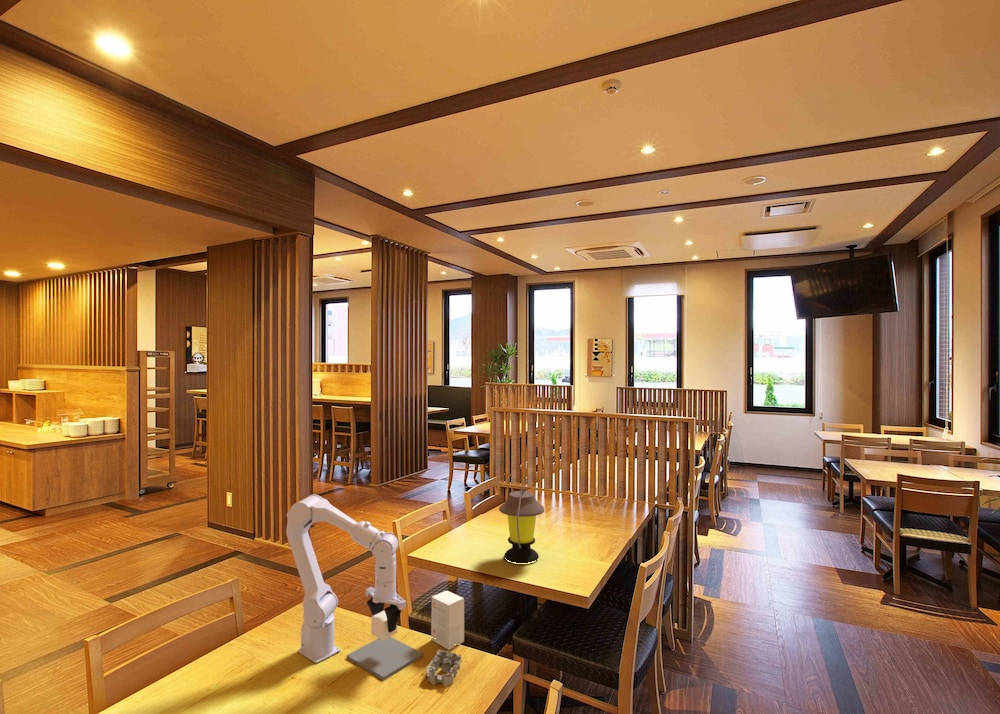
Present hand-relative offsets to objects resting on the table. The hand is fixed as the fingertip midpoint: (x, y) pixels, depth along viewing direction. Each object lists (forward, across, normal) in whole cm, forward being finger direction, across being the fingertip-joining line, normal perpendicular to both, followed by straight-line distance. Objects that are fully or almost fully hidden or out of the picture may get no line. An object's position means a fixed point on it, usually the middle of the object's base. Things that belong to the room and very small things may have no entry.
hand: (385, 627), depth 144 cm
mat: (+8, 0, 0) cm, 8 cm away
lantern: (+8, -9, +83) cm, 84 cm away
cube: (+2, 0, 0) cm, 2 cm away
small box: (+8, +9, +17) cm, 21 cm away
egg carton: (+9, +18, +4) cm, 21 cm away
